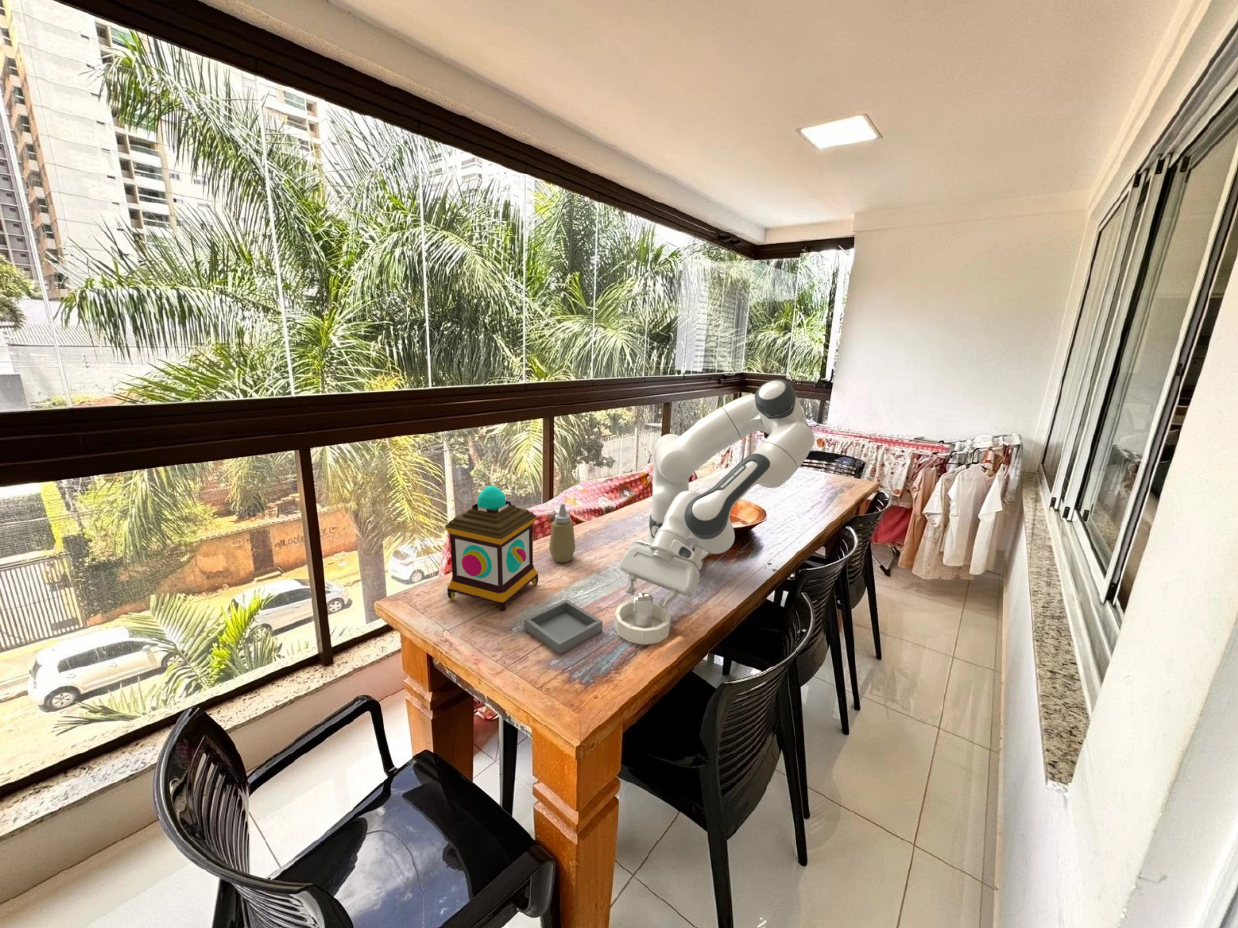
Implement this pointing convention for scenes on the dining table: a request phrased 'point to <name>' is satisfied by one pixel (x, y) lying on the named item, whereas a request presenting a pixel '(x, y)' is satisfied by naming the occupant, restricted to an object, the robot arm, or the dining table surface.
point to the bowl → (642, 635)
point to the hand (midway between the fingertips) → (645, 600)
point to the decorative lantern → (492, 549)
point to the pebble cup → (643, 610)
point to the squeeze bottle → (562, 537)
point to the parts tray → (562, 626)
